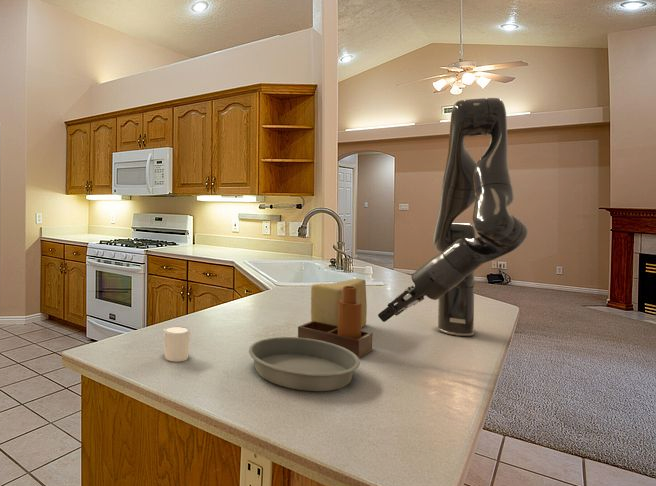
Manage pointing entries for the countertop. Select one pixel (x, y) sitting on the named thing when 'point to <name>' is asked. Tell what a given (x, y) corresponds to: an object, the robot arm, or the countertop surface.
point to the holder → (336, 337)
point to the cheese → (335, 300)
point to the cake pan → (304, 363)
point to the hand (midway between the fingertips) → (387, 315)
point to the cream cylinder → (176, 343)
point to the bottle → (349, 314)
